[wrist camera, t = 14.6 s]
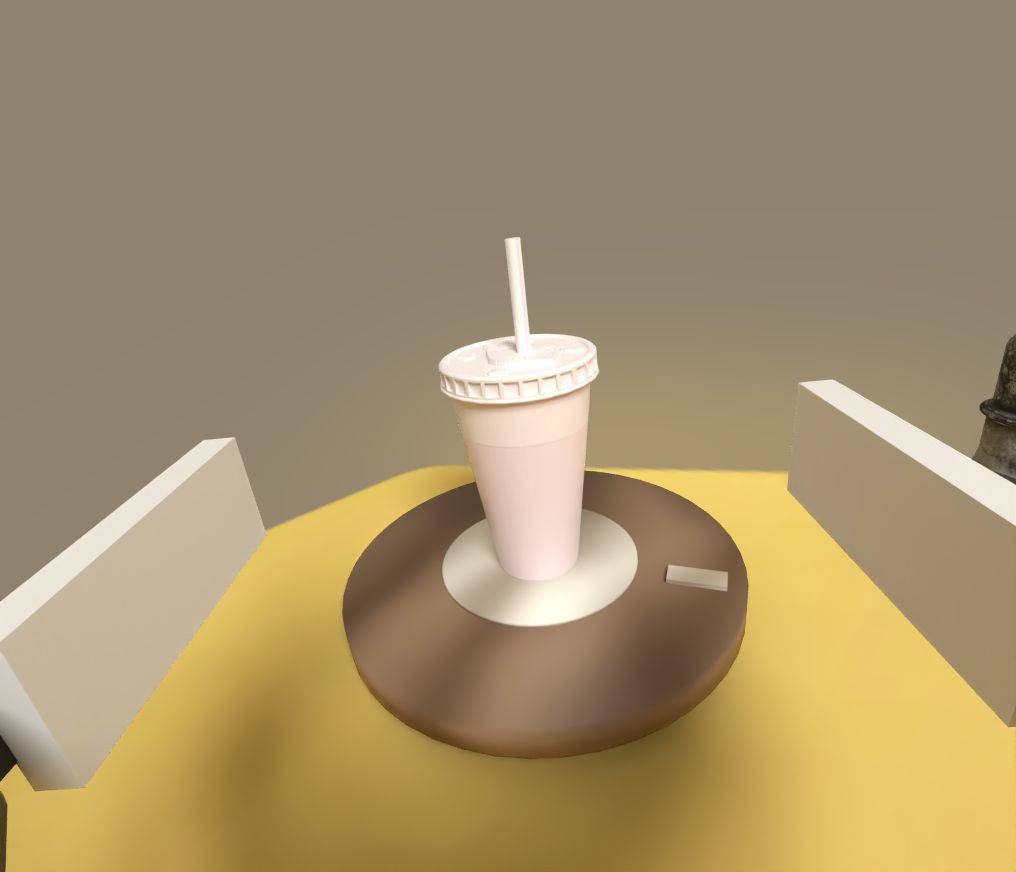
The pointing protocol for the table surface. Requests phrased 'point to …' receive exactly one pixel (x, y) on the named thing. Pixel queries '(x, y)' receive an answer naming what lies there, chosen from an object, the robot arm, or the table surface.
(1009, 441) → the salt shaker
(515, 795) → the table surface
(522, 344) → the smoothie
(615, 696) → the turntable
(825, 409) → the robot arm
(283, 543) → the table surface
